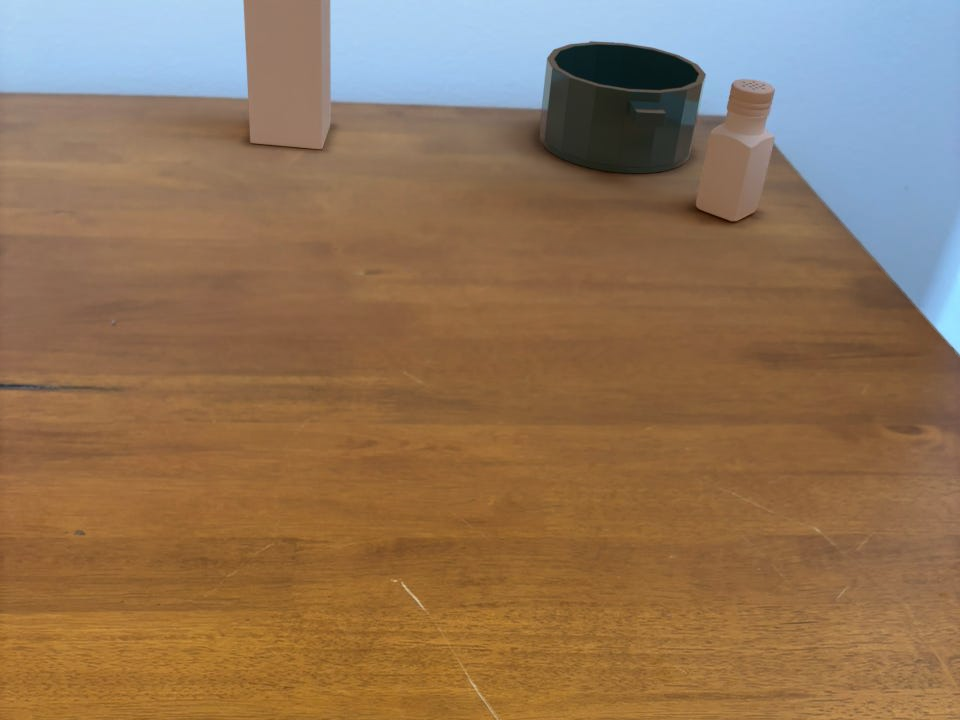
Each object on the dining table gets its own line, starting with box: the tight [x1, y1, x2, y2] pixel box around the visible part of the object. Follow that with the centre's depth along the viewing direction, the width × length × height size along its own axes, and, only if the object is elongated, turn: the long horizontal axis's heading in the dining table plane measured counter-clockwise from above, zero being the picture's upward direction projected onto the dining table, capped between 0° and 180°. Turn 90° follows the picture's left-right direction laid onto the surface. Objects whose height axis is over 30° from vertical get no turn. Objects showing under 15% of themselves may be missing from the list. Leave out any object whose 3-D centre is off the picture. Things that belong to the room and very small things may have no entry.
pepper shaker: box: [695, 78, 776, 222], centre depth 91 cm, size 4×4×10 cm
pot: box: [538, 40, 707, 174], centre depth 102 cm, size 13×19×6 cm
